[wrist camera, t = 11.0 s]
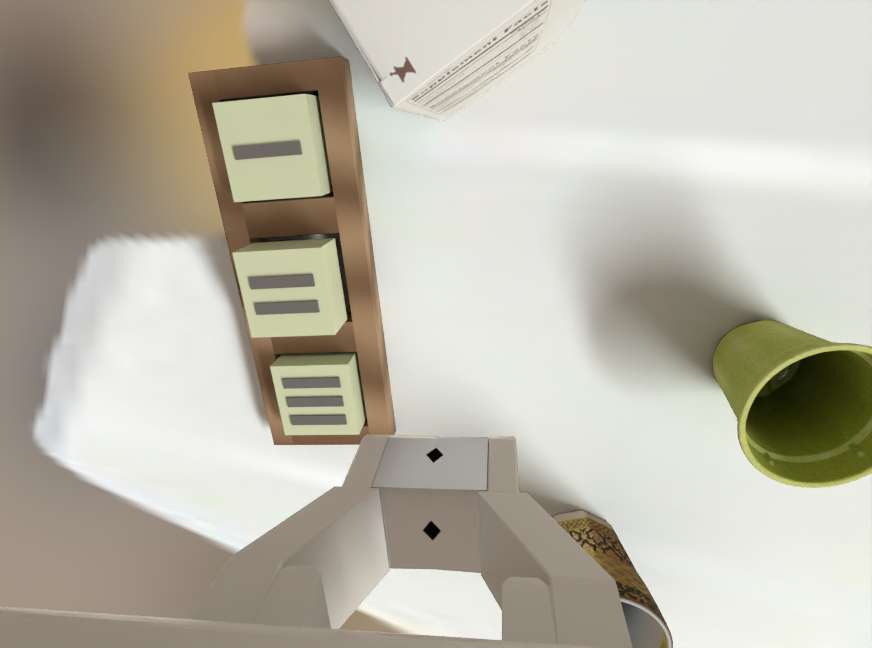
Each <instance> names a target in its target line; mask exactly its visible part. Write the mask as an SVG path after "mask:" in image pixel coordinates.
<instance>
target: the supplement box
mask: <svg viewBox="0 0 872 648" xmlns="http://www.w3.org/2000/svg"><path fill="white" fill-rule="evenodd" d="M329 1H330V3H331V5H332V6H333V8H334V10H335V11H336V13H337V15H338V16H339V18H340V20H341V21H342V23H343V25H344V26H345V28H346V30H347V31H348V33H349V35H350V36H351V38H352V40H353V41H354V43H355V45H356V46H357V48H358V50H359V51H360V53H361V55H362V56H363V58H364V60H365V61H366V63H367V65H368V66H369V68H370V70H371V71H372V73H373V75H374V77H375V79H376V80H377V82H378V84H379V86H380V87H381V89H382V91H383V93H384V95H385V96H386V98H387V101H388V103H389V105H390V106H391V107H393V108H395V109H399V110H403V111H407V112H410V113H415V114H418V115H423V116H426V117H429V118H433V119H437V120H441V121H445V120H447V119H449V118H450V117H452V116H453V115H455V114H456V113H458V112H459V111H461V110H462V109H464V108H465V107H467V106H468V105H470V104H471V103H473V102H474V101H475V100H477V99H478V98H480V97H481V96H483V95H484V94H486V93H487V92H488V91H490V90H491V89H493V88H494V87H495V86H497V85H498V84H500V83H501V82H503V81H504V80H505V79H507V78H508V77H510V76H511V75H513V74H514V73H515V72H517V71H518V70H520V69H521V68H522V67H524V66H525V65H526V64H528V63H529V62H530V61H532V60H533V59H535V58H536V57H537V56H539V55H540V54H541V53H543V52H544V51H545V50H547V49H548V48H549V47H551V46H552V45H553V44H554V43H556V42H557V41H558V40H559V39H560V38H562V37H563V35H564V34H565V32H566V30H567V29H568V27H569V26H570V24H571V23H572V21H573V19H574V18H575V16H576V15H577V13H578V12H579V10H580V9H581V7H582V5H583V4H584V2H585V1H586V0H329Z"/></svg>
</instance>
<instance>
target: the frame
mask: <svg viewBox="0 0 872 648" xmlns="http://www.w3.org/2000/svg"><path fill="white" fill-rule="evenodd" d="M188 74H189V79H190V83H191V87H192V92H193V96H194V100H195V105H196V109H197V113H198V118H199V122H200V126H201V131H202V135H203V139H204V144H205V148H206V152H207V156H208V161H209V165H210V169H211V174H212V178H213V182H214V187H215V191H216V195H217V200H218V204H219V208H220V212H221V217H222V221H223V226H224V230H225V234H226V239H227V243H228V247H229V251H230V256H231V260H232V264H233V269H234V273H235V277H236V282H237V286H238V290H239V295H240V299H241V303H242V308H243V312H244V316H245V321H246V325H247V329H248V333H249V338H250V342H251V346H252V351H253V355H254V359H255V364H256V368H257V372H258V377H259V381H260V385H261V390H262V394H263V398H264V403H265V407H266V411H267V416H268V420H269V424H270V428H271V433H272V437H273V441H274V445H351V444H360V443H361V441H362V438H363V437H364V436H366V435H367V434H370V435H390V436H391V435H395V432H396V428H395V420H394V412H393V404H392V396H391V388H390V381H389V373H388V365H387V357H386V349H385V341H384V333H383V325H382V318H381V310H380V302H379V294H378V286H377V278H376V270H375V263H374V255H373V247H372V239H371V231H370V223H369V215H368V207H367V200H366V192H365V184H364V176H363V168H362V160H361V152H360V144H359V137H358V129H357V121H356V113H355V105H354V97H353V89H352V82H351V74H350V66H349V61H348V60H346V59H344V58H342V57H340V56H339V57H330V58H321V59H312V60H302V61H293V62H284V63H275V64H266V65H257V66H248V67H238V68H230V69H220V70H211V71H203V72H193V73H188ZM313 93H318V94H319V101H320V108H321V114H322V121H323V128H324V134H325V141H326V148H327V154H328V161H329V168H330V174H331V181H332V188H333V195H323V196H314V197H300V198H286V199H272V200H258V201H244V202H234V200H233V195H232V191H231V186H230V182H229V177H228V173H227V168H226V164H225V159H224V155H223V150H222V145H221V141H220V136H219V132H218V127H217V123H216V118H215V114H214V109H213V105H212V103H218V102H228V101H238V100H248V99H258V98H268V97H278V96H287V95H297V94H313ZM329 233H339V234H340V241H341V248H342V255H343V261H344V268H345V275H346V281H347V288H348V295H349V301H350V308H351V313H346V314H347V320H346V322H345V323H344V324H343V325H342V327H341V328H340V329H339V331H338V332H337V333H336V335H317V336H288V337H259V338H252V337H251V333H250V328H249V324H248V319H247V315H246V311H245V306H244V302H243V298H242V293H241V289H240V285H239V280H238V276H237V272H236V267H235V263H234V259H233V254H232V252H235V251H237V250H239V249H241V248H243V247H245V246H247V245H250V244H252V243H260V242H263V238H264V237H280V236H296V235H313V234H329ZM326 352H357V355H358V361H359V368H360V375H361V381H362V388H363V395H364V402H365V408H366V415H367V418H366V420H365V422H364V425H363V427H362V429H361V432H360V434H359V435H285V432H284V428H283V423H282V419H281V414H280V410H279V405H278V401H277V396H276V392H275V387H274V383H273V378H272V373H271V369H270V366H271V365H272V364H273V363H274V362H275V361H276V360H277V359H278V358H279V356H280V355H281V354H292V353H326Z"/></svg>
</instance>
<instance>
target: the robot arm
mask: <svg viewBox="0 0 872 648" xmlns="http://www.w3.org/2000/svg"><path fill="white" fill-rule="evenodd" d="M389 568H403V569H438V570H451V571H464V572H476V573H481V576H482V577H483V579H484V581H485V582H486V584H487V586H488V588H489V589H490V591H491V593H492V594H493V596H494V598H495V600H496V601H497V603H498V605H499V606H500V608H501V610H502V640H488V639H474V638H460V637H445V636H430V635H415V634H400V633H385V632H370V631H369V632H368V631H354V630H340V629H339V628H340V627H341V626H342V624H343V623H344V622H345V621H346V620H347V619H348V617H349V616H350V615H351V614H352V613H353V612H354V611H355V610H356V608H357V607H358V606H359V605H360V604H361V603H362V602H363V600H364V599H365V598H366V597H367V596H368V595H369V594H370V592H371V591H372V590H373V589H374V588H375V587H376V586H377V584H378V583H379V582H380V581H381V580H382V579H383V578H384V576H385V575H386V574H387V573H388V572H389ZM0 648H633V647H632V643H631V639H630V636H629V632H628V628H627V624H626V620H625V616H624V612H623V608H622V605H621V601H620V597H619V593H618V589H617V585H616V581H615V580H614V579H613V578H612V577H611V576H610V575H609V574H608V573H607V572H606V571H605V570H604V569H603V568H602V567H601V566H600V565H599V564H598V563H597V562H596V561H595V560H594V559H593V558H592V557H591V556H590V555H589V554H588V553H587V552H586V551H585V550H584V549H583V548H582V547H581V546H580V545H579V544H578V543H577V542H576V541H575V540H574V539H573V538H572V537H571V536H570V535H569V534H568V533H567V532H566V531H565V530H564V529H563V528H562V527H561V526H560V525H559V524H558V523H557V522H556V521H555V520H554V519H553V518H552V517H551V516H550V515H549V514H548V513H547V512H546V511H545V510H544V509H543V508H542V507H541V506H540V505H539V504H538V503H537V502H536V501H535V500H534V499H533V498H532V497H531V496H530V495H529V494H528V493H526V492H519V483H518V466H517V450H516V439H515V437H514V436H513V437H489V438H488V437H433V436H407V435H391V436H390V435H370V434H367V435H366V436H364V437H363V438H362V441H361V443H360V446H359V448H358V450H357V453H356V455H355V457H354V460H353V462H352V464H351V467H350V469H349V471H348V474H347V476H346V478H345V481H344V483H343V485H342V487H333V488H332V489H330V490H329V491H327V492H326V493H325V494H323V495H322V496H320V497H319V498H317V499H316V500H314V501H313V502H311V503H310V504H308V505H307V506H305V507H304V508H302V509H301V510H299V511H298V512H296V513H295V514H293V515H292V516H291V517H289V518H288V519H286V520H285V521H283V522H282V523H280V524H279V525H277V526H276V527H274V528H273V529H271V530H270V531H268V532H267V533H265V534H264V535H262V536H261V537H259V538H258V539H256V540H255V541H254V542H252V543H251V544H249V545H248V546H246V547H245V548H243V549H242V550H240V551H239V552H237V553H236V554H234V555H233V556H231V557H230V558H229V559H227V560H226V562H225V563H224V565H223V566H222V568H221V570H220V571H219V573H218V574H217V576H216V578H215V579H214V581H213V582H212V584H211V586H210V588H209V589H208V591H207V592H206V594H205V595H204V597H203V599H202V600H201V602H200V603H199V605H198V607H197V608H196V610H195V611H194V613H193V615H192V616H191V618H190V619H177V618H161V617H148V616H133V615H118V614H103V613H89V612H74V611H59V610H44V609H29V608H15V607H0Z"/></svg>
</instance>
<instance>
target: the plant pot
mask: <svg viewBox="0 0 872 648" xmlns="http://www.w3.org/2000/svg"><path fill="white" fill-rule="evenodd" d="M789 365H790V368H789V371H788V373H787V374H786V375H785V376H784V377H783V378H782V379H780V380H776V378H777V377H778V376H779V375H780V374H781V373H782V372H783V371H784V370H785V369H786V368H787V367H788V366H789ZM713 371H714V375H715V378H716V380H717V382H718V383H719V385H720V387H721V389H722V391H723V393H724V394H725V396H726V398H727V400H728V402H729V404H730V406H731V408H732V409H733V411H734V413H735V415H736V417H737V421H738V425H737V430H738V439H739V443H740V446H741V448H742V450H743V452H744V454H745V456H746V457H747V459H748V460H749V461H750V463H751V464H752V465H753V466H754V467H755V468H756V469H757V470H759V471H760V472H761V473H763V474H764V475H766V476H768V477H769V478H771V479H773V480H776V481H778V482H780V483H783V484H787V485H791V486H797V487H807V488H818V487H830V486H837V485H841V484H845V483H848V482H851V481H854V480H857V479H860V478H862V477H864V476H867V475H869V474H871V473H872V347H870V346H865V345H860V344H851V343H833V342H829V341H827V340H824V339H821V338H819V337H816V336H814V335H811V334H808V333H806V332H803V331H801V330H798V329H796V328H793V327H791V326H788V325H786V324H783V323H780V322H777V321H772V320H762V321H758V322H754V323H749V324H745V325H741V326H738V327H737V328H735V329H733V330H732V331H730V332H729V333H728V334H727V335H726V336H725V337H724V338H723V339H722V340H721V341H720V342H719V344H718V346H717V348H716V350H715V352H714V355H713Z"/></svg>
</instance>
